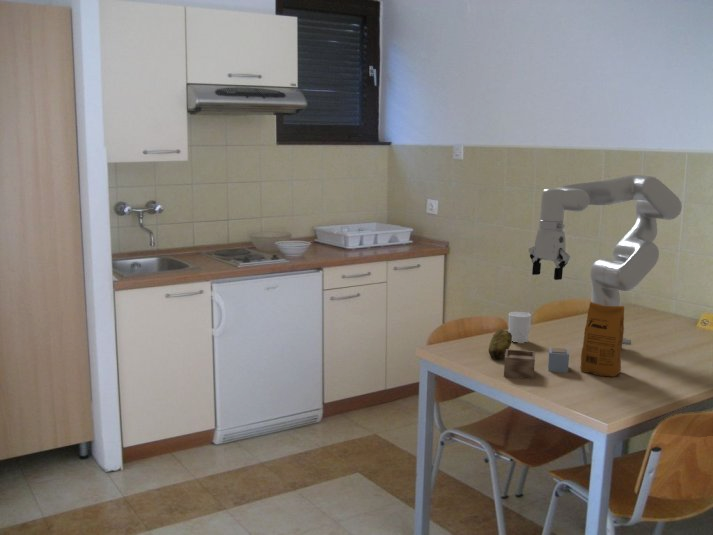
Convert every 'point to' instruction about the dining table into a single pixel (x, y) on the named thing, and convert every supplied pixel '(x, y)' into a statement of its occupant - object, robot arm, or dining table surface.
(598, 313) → the coffee package
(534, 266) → the robot arm
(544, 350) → the dining table surface
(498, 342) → the potato
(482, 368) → the dining table surface
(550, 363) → the cap block
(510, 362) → the box base
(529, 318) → the white cup
